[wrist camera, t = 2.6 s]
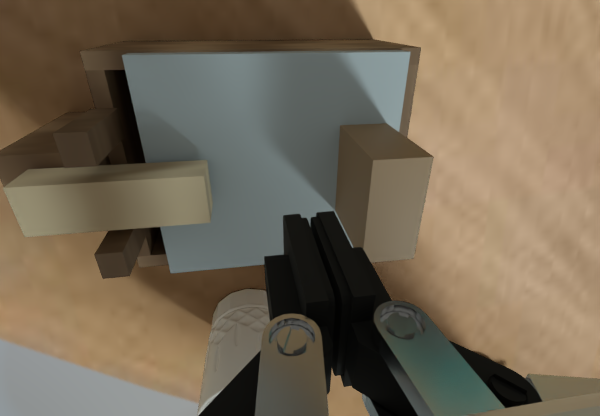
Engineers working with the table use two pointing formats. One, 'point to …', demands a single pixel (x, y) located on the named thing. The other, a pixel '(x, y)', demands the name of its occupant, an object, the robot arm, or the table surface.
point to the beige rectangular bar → (111, 197)
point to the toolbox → (125, 135)
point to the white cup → (233, 340)
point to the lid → (283, 148)
